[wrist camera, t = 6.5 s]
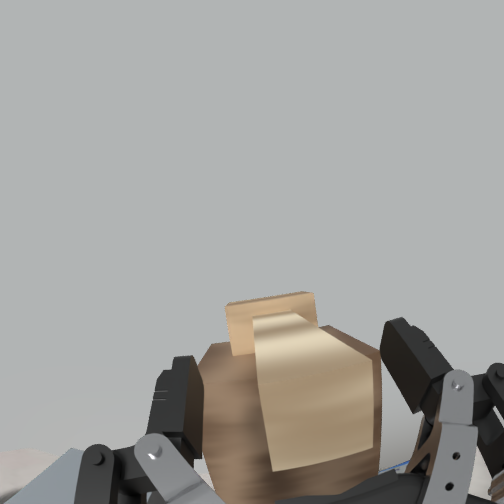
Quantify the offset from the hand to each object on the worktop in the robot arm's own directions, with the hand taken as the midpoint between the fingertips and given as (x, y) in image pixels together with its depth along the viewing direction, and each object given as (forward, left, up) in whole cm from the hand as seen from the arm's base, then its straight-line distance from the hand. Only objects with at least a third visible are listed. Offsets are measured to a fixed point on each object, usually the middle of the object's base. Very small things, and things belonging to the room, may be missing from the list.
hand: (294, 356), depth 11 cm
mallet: (0, -6, -2) cm, 6 cm away
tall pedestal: (0, -11, -34) cm, 36 cm away
